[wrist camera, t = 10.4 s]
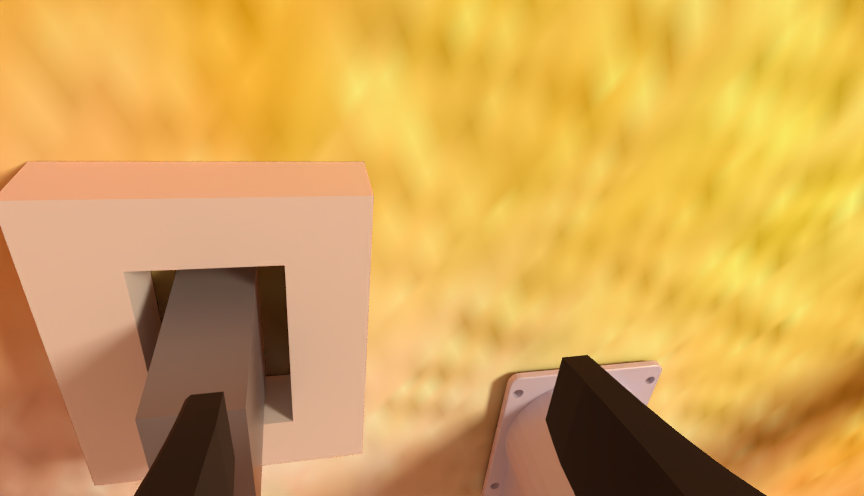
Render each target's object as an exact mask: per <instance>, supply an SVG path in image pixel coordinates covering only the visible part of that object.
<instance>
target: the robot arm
mask: <svg viewBox="0 0 864 496" xmlns="http://www.w3.org/2000/svg"><path fill="white" fill-rule="evenodd" d="M661 371H662V368H661V366H660V365H659V363H658V362H656V361H644V362H633V363H622V364H611V365H599V364H597V363H596V362H595V361H594V360H593V359H591V358H590V357H589V356H588V355H584V356H574V357H564V358H562V361H561V365H560V368H559V369H557V370H546V371H535V372H524V373H517V374H514V375H512V376H511V377H510V378H509V380H508V382H507V386H506V390H505V395H504V399H503V403H502V408H501V412H500V416H499V421H498V425H497V429H496V433H495V438H494V442H493V446H492V451H491V455H490V459H489V464H488V468H487V472H486V477H485V481H484V485H483V490H482V496H766V495H765V494H763V493H762V492H760V491H759V490H757V489H756V488H754V487H753V486H751V485H750V484H748V483H747V482H745V481H744V480H742V479H741V478H739V477H738V476H736V475H735V474H733V473H732V472H730V471H729V470H728V469H726V468H725V467H723V466H722V465H721V464H719V463H718V462H716V461H715V460H714V459H712V458H711V457H710V456H708V455H707V454H706V453H704V452H703V451H702V450H701V449H699V448H698V447H697V446H695V445H694V444H693V443H691V442H690V441H689V440H687V439H686V438H685V437H684V436H682V435H681V434H680V433H679V432H677V431H676V430H675V429H674V428H672V427H671V426H670V425H669V424H667V423H666V422H665V421H664V420H663V419H661V418H660V417H659V416H658V415H657V414H655V413H654V412H653V411H652V410H651V409H649V408H648V407H647V404H648V402H649V399H650V397H651V395H652V392H653V390H654V388H655V385H656V383H657V381H658V378H659V376H660V374H661ZM516 390H517V391H516ZM234 472H235V456H234V450H233V444H232V438H231V432H230V426H229V420H228V415H227V409H226V403H225V397H224V391H223V392H213V393H203V394H193V395H190V396H189V397H187V398H186V399H185V401H184V403H183V406H182V408H181V410H180V412H179V414H178V416H177V418H176V421H175V423H174V425H173V427H172V429H171V431H170V433H169V435H168V436H167V438H166V440H165V442H164V444H163V446H162V448H161V450H160V451H159V453H158V455H157V457H156V459H155V461H154V462H153V464H152V466H151V467H150V469H149V471H148V472H147V474H146V476H145V478H144V479H143V481H142V483H141V484H140V486H139V488H138V490H137V491H136V493H135V495H134V496H233V495H234Z"/></svg>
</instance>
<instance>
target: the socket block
mask: <svg viewBox="0 0 864 496" xmlns="http://www.w3.org/2000/svg"><path fill="white" fill-rule="evenodd" d="M373 199H374V195H373V192H372V188H371V184H370V181H369V177H368V173H367V170H366V166H365V163H364V162H27V163H26V164H25V165H24V166H23V167H22V168H21V169H20V170H19V171H18V173H17V174H16V175H15V176H14V177H13V178H12V179H11V180H10V181H9V182H8V183H7V184H6V186H5V187H4V188H3V189H2V190H1V191H0V226H1V229H2V232H3V235H4V237H5V240H6V243H7V246H8V248H9V251H10V254H11V257H12V259H13V262H14V265H15V268H16V270H17V273H18V276H19V279H20V281H21V284H22V287H23V290H24V292H25V295H26V298H27V301H28V303H29V306H30V309H31V312H32V314H33V317H34V320H35V323H36V325H37V328H38V331H39V334H40V336H41V339H42V342H43V345H44V347H45V350H46V353H47V356H48V358H49V361H50V364H51V367H52V369H53V372H54V375H55V378H56V380H57V383H58V386H59V389H60V391H61V394H62V397H63V400H64V402H65V405H66V408H67V411H68V413H69V416H70V419H71V422H72V424H73V427H74V430H75V433H76V435H77V438H78V441H79V444H80V446H81V449H82V452H83V455H84V458H85V460H86V463H87V466H88V469H89V471H90V474H91V477H92V480H93V482H94V485H104V484H112V483H120V482H129V481H137V480H143V479H144V478H145V476H146V474H147V472H148V471H149V468H148V465H147V461H146V458H145V454H144V450H143V447H142V443H141V439H140V436H139V432H138V428H137V425H136V421H135V418H136V414H137V411H138V407H139V404H140V400H141V396H142V393H143V389H144V386H145V382H146V379H147V375H148V371H149V368H150V364H151V361H152V357H153V354H154V350H155V346H156V343H157V339H158V336H159V332H160V329H161V320H160V315H159V310H158V306H157V301H156V296H155V291H154V287H153V282H152V277H151V272H150V271H157V270H182V269H206V268H231V267H255V266H280V265H285V279H286V298H287V316H288V335H289V353H290V372H291V374H288V375H276V376H266V377H265V402H264V427H263V451H262V466H263V465H271V464H280V463H288V462H297V461H305V460H313V459H322V458H330V457H339V456H347V455H355V454H362V448H363V425H364V403H365V380H366V357H367V335H368V312H369V289H370V267H371V244H372V222H373Z"/></svg>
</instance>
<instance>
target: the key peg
mask: <svg viewBox="0 0 864 496" xmlns="http://www.w3.org/2000/svg"><path fill="white" fill-rule="evenodd" d="M265 377H266V359H265V347H264V335H263V324H262V312H261V300H260V288H259V277H258V266H255V267H231V268H206V269H182V270H177V271H176V275H175V278H174V282H173V286H172V289H171V293H170V296H169V300H168V304H167V307H166V311H165V314H164V318H163V321H162V325H161V329H160V332H159V336H158V339H157V343H156V346H155V350H154V354H153V357H152V361H151V364H150V368H149V371H148V375H147V379H146V382H145V386H144V389H143V393H142V396H141V400H140V404H139V407H138V411H137V414H136V418H135V421H136V425H137V428H138V432H139V436H140V439H141V443H142V447H143V450H144V454H145V458H146V461H147V465H148V468H149V469H150V467H151V466H152V464H153V462H154V461H155V459H156V457H157V455H158V453H159V451H160V450H161V448H162V446H163V444H164V442H165V440H166V438H167V436H168V435H169V433H170V431H171V429H172V427H173V425H174V423H175V421H176V418H177V416H178V414H179V412H180V410H181V408H182V406H183V403H184V401H185V399H186V398H187V397H189V396H190V395H193V394H203V393H213V392H223V391H224V397H225V403H226V409H227V415H228V420H229V426H230V432H231V438H232V444H233V450H234V456H235V472H234V495H233V496H261V476H262V451H263V427H264V402H265Z"/></svg>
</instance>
